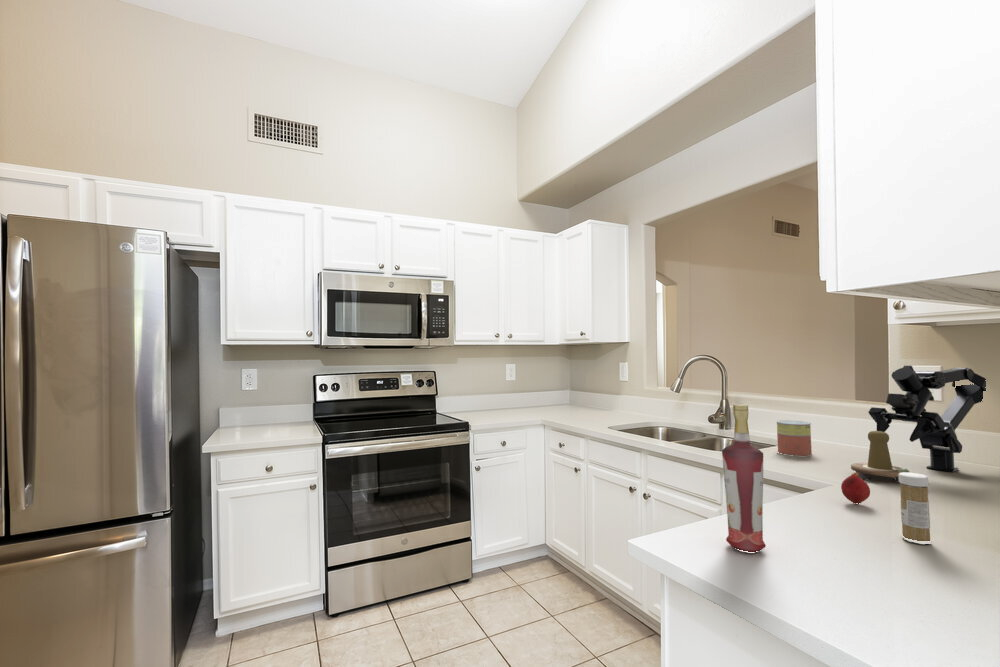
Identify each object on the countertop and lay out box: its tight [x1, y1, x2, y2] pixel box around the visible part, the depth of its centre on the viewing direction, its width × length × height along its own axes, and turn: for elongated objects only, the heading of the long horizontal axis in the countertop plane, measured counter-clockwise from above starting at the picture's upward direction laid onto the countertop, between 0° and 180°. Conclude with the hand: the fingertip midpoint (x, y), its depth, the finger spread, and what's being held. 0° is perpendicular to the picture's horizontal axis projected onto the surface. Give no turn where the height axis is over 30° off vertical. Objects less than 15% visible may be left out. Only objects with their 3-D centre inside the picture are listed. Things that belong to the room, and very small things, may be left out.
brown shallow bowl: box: [850, 462, 910, 483], centre depth 144 cm, size 14×14×4 cm
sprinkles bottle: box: [898, 471, 931, 541], centre depth 95 cm, size 5×5×14 cm
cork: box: [867, 430, 893, 470], centre depth 144 cm, size 6×6×11 cm
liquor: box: [721, 404, 766, 552], centre depth 92 cm, size 7×7×28 cm
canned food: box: [776, 420, 813, 457], centre depth 181 cm, size 11×11×12 cm
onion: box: [840, 471, 871, 505], centre depth 119 cm, size 6×6×8 cm
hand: (893, 438), depth 147 cm, fingers open, 9 cm apart
